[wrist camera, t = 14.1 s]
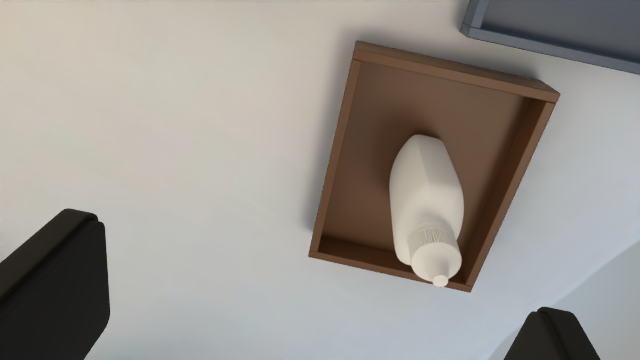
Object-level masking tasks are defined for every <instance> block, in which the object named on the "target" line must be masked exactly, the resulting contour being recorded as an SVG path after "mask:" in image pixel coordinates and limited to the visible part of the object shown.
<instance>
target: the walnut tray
mask: <svg viewBox="0 0 640 360" xmlns="http://www.w3.org/2000/svg"><path fill="white" fill-rule="evenodd" d="M559 96H560V93H559V92H557V91H556V90H554V89H553V88H551V87H550V86H548V85H547V84H545V83H544V82H542V81H540V80H535V79H531V78H526V77H522V76H517V75H512V74H508V73H503V72H499V71H494V70H490V69H485V68H480V67H476V66H471V65H467V64H462V63H458V62H453V61H448V60H444V59H439V58H435V57H430V56H426V55H421V54H416V53H412V52H407V51H403V50H398V49H394V48H389V47H384V46H380V45H375V44H371V43H366V42H361V41H356V43H355V48H354V52H353V57H352V61H351V66H350V70H349V75H348V79H347V84H346V88H345V92H344V97H343V101H342V106H341V110H340V115H339V119H338V124H337V128H336V133H335V137H334V142H333V146H332V151H331V155H330V160H329V164H328V169H327V173H326V178H325V182H324V187H323V191H322V196H321V200H320V204H319V209H318V213H317V218H316V222H315V227H314V231H313V236H312V241H311V245H310V250H309V255H308V256H309V257H312V258H316V259H321V260H325V261H330V262H334V263H339V264H344V265H348V266H353V267H357V268H362V269H366V270H371V271H375V272H380V273H384V274H389V275H393V276H398V277H402V278H407V279H411V280H416V281H420V282H425V283H429V284H433V282H432V281H427V280H424V279H422V278H420V277H419V276H418V275H416V273H415V272H414V271H413V269H412V267H411V265H407V264H405V263H403V262H401V261H400V260H399V259H398V257H397V255H396V251H395V246H394V238H393V227H392V216H391V204H390V192H389V183H390V174H391V170H392V166H393V164H394V161H395V159H396V157H397V155H398V153H399V151H400V150H401V148H402V147H403V145H404V144H405V143H406V142H407V140H408V139H409V138H410V137H412V136H414V135H424V136H429V137H433V138H437V139H439V140H441V141H443V143H444V145H445V147H446V150H447V152H448V155H449V157H450V160H451V162H452V165H453V167H454V170H455V172H456V175H457V177H458V180H459V182H460V185H461V188H462V193H463V200H464V215H463V222H462V226H461V230H460V233H459V236H458V238H457V240H456V241H457V244H458V247H459V250H460V254H461V258H462V261H461V262H462V263H461V266H460V268H459V270H458V272H457V273H456V274H455V275H454V276H452V277H451V278H449V279H448V283H447V285H446V286H444V287H447V288H452V289H456V290H461V291H465V292H471V290H472V288H473V285H474V283H475V281H476V279H477V277H478V274H479V272H480V270H481V268H482V266H483V263H484V261H485V259H486V257H487V255H488V252H489V250H490V248H491V246H492V244H493V241H494V239H495V237H496V235H497V233H498V230H499V228H500V226H501V224H502V222H503V219H504V217H505V215H506V213H507V210H508V208H509V206H510V204H511V202H512V199H513V197H514V195H515V193H516V191H517V188H518V186H519V184H520V182H521V180H522V177H523V175H524V173H525V171H526V169H527V166H528V164H529V162H530V160H531V158H532V155H533V153H534V151H535V149H536V147H537V144H538V142H539V140H540V138H541V136H542V133H543V131H544V129H545V127H546V125H547V122H548V120H549V118H550V116H551V113H552V111H553V109H554V107H555V105H556V103H557V101H558V98H559Z"/></svg>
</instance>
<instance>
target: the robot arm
mask: <svg viewBox="0 0 640 360" xmlns="http://www.w3.org/2000/svg"><path fill="white" fill-rule="evenodd" d="M109 317H110V303H109V287H108V270H107V254H106V238H105V226H104V224H103V223H102V222H98V217H97V216H96V215H95V214H93V213H89V212H84V211H79V210H74V209H69V208H68V209H64V210H63V211H61V212H60V213H59V214H58V215H56V216H55V217H54V218H53V219H52V220H51V221H49V222H48V223H47V224H46V225H45V226H43V227H42V228H41V229H40V230H39V231H38V232H36V233H35V234H34V235H33V236H32V237H30V238H29V239H28V240H27V241H26V242H25V243H23V244H22V245H21V246H20V247H19V248H18V249H16V250H15V251H14V252H13V253H12V254H10V255H9V256H8V257H7V258H6V259H5V260H3V261H2V262H1V263H0V360H84V358H85V357H86V355H87V354H88V352H89V351H90V350H91V348H92V347H93V345H94V344H95V342H96V341H97V339H98V338H99V337H100V335H101V334H102V332H103V331H104V329H105V328H106V326H107V323H108V320H109ZM504 360H600V358H599V356H598V355H597V353H596V351H595V349H594V348H593V346H592V344H591V342H590V341H589V339H588V337H587V335H586V334H585V332H584V330H583V328H582V327H581V325H580V323H579V321H578V320H577V318H576V317H575V315H574V314H573V313H571V312H568V311H563V310H558V309H554V308H549V307H541V308H539V309H538V310H537V312H531V313H530V314H529V315H528V317H527V319H526V320H525V322H524V324H523V326H522V328H521V329H520V331H519V333H518V335H517V337H516V338H515V340H514V342H513V344H512V346H511V347H510V349H509V351H508V353H507V355H506V356H505V358H504Z"/></svg>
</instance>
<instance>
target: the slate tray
mask: <svg viewBox="0 0 640 360" xmlns="http://www.w3.org/2000/svg"><path fill="white" fill-rule="evenodd" d="M460 32H461V33H462V34H464V35H465V36H466V37H469V38H473V39H478V40H482V41H487V42H491V43H496V44H501V45H505V46H510V47H514V48H519V49H524V50H528V51H533V52H537V53H542V54H546V55H551V56H556V57H560V58H565V59H569V60H574V61H579V62H583V63H588V64H592V65H597V66H601V67H606V68H611V69H615V70H620V71H624V72H629V73H634V74H638V75H640V0H470V2H469V5H468V8H467V11H466V14H465V17H464V20H463V24H462V27H461V30H460Z"/></svg>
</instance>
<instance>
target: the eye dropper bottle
mask: <svg viewBox="0 0 640 360" xmlns="http://www.w3.org/2000/svg"><path fill="white" fill-rule="evenodd" d="M389 192H390V204H391V216H392V227H393V238H394V246H395V251H396V255H397V257H398V259H399V260H400V261H401V262H403V263H405V264H407V265H411V267H412V269H413V271H414V272H415V273H416V275H418V276H419V277H420V278H422V279H424V280H427V281H432V282H433V284H434V285H435V286H437V287H444V286H446V285H447V283H448V279H449V278H451V277H452V276H454V275H455V274H456V273H457V272H458V270H459V268H460V266H461V263H462V262H461V261H462V258H461V254H460V250H459V247H458V244H457V241H456V240H457V238H458V236H459V233H460V230H461V226H462V222H463V215H464V200H463V193H462V188H461V185H460V182H459V180H458V177H457V175H456V172H455V170H454V167H453V165H452V162H451V160H450V157H449V155H448V152H447V150H446V147H445V145H444V143H443V141H441V140H439V139H437V138H433V137H429V136H424V135H414V136H412V137H410V138H409V139H408V140H407V142H406V143H405V144H404V145H403V147H402V148H401V150H400V151H399V153H398V155H397V157H396V159H395V161H394V164H393V166H392V170H391V174H390V183H389Z"/></svg>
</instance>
